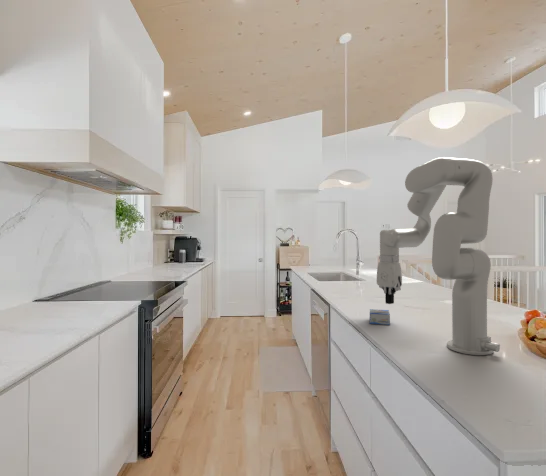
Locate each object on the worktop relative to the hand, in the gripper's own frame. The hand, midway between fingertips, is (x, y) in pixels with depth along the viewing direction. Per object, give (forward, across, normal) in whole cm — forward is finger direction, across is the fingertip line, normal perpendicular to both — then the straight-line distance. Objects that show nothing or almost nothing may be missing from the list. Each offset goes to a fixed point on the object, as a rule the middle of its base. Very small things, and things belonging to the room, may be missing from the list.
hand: (389, 303), depth 146 cm
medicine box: (+5, -5, -1) cm, 7 cm away
